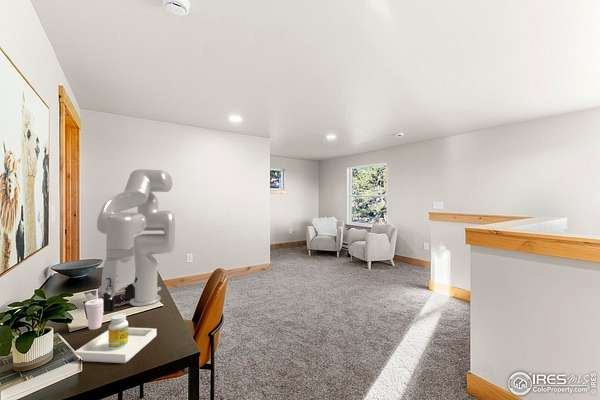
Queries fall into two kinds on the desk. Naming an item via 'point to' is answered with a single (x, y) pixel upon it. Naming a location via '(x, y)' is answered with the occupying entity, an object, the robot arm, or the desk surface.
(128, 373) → the desk surface
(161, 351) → the desk surface
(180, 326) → the desk surface
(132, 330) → the tray
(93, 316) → the smoothie
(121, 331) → the supplement bottle
